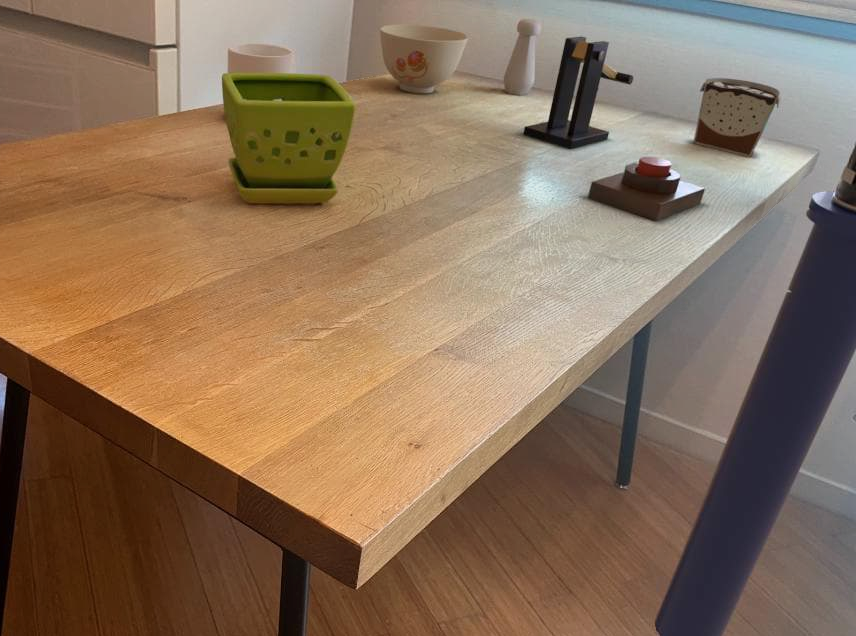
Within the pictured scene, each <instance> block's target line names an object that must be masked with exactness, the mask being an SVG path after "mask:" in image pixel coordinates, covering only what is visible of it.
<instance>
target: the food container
mask: <svg viewBox="0 0 856 636" xmlns="http://www.w3.org/2000/svg"><path fill="white" fill-rule="evenodd" d="M699 92H700V93H701V92H703V93H702V98H701V102H700V107H699V113H698V118H697V123H696V126H695V127H696V128H695V133H694V137H693V143H694V144H696V145H701V146H704V147H709V148H713V149H717V150H720V151H725V152H729V153H733V154H736V155H741V156H745V157H748V158H750V157H752V156H753V154H754V153H755V150H756V148H757V145H758V143H759V141H760V140H761V137H762V135H763V132H764V130H765V128H766V127H767V123H768V121H769V119H770V117H771V115H772V113H773V111H774V108H775V107H776V109H778V108H780V104H781V97H782V96H781V95H780V94H781V91H780V89H778V88H775V87H773V86H771V85H768V84H764V83H759V82H754V81H750V80H744V79H737V78H728V77H709V78H706V80H705V82H703V83H702V85H701V87H700V89H699Z"/></svg>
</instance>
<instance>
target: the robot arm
mask: <svg viewBox="0 0 856 636" xmlns="http://www.w3.org/2000/svg"><path fill="white" fill-rule="evenodd" d="M834 191H835V193H834V194H833V197H832V199H831V201H832V203H833V204H834V205H836V206H837V207H839V208H841V209H843V210H846V211H848V212H851V213H854V214H856V141H855V142H854V144H853V147H852V150H851V152H850V155H849V157H848V159H847V162H846V165H845V166H844V168H843V171H842V173H841V176H840V179H839V181H838V183H837V186H836V189H835V190H834Z"/></svg>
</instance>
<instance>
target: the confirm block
mask: <svg viewBox="0 0 856 636" xmlns="http://www.w3.org/2000/svg"><path fill="white" fill-rule="evenodd" d="M637 167H638V163H630V164H626V165H625V166H624V170H623V172H620V173H617V174H613V175H609V176H606V177H603V178H599V179H597V180H593V181H591V183H590V187H589V191H588V195H587V198H588V199H590V200H594V201H596V202H600V203H601V204H605V205H608V206H611V207H614V208H617V209H620V210H623V211H625V212H629V213H632V214H634V215H637V216H641V217H642V218H643V217H644V218H647V219H649V220H653V221H655V222H656V221H660V220H662V219H664V218H668V217H670V216H672V215H675V214H678V213H681V212H683V211H685V210H688V209H691V208H693V207H696V206H700V205H701V203H702V200H703V197H704V193H705V190H706V188H705V187H703V186H700V185H699V186H698V185H696V184H694V183H693V184H692V183H689V182H685V181H683V180H681V174H680V173H679V172H677V171H675V170H673V169H672V168H670V171H669V175H668V177H654V176H648V175H645V174H642V173H639V172H637Z"/></svg>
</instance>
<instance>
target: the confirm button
mask: <svg viewBox="0 0 856 636" xmlns="http://www.w3.org/2000/svg"><path fill="white" fill-rule="evenodd" d="M637 164H638V167H637V172H639V173H642V174H645V175H648V176H654V177H668V175H669V171H670V169H672V165H673V163H672V162H670V161H669V160H667V159H665V158H661V157H655V156H642V157H640V158H639V161H638V163H637Z"/></svg>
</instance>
